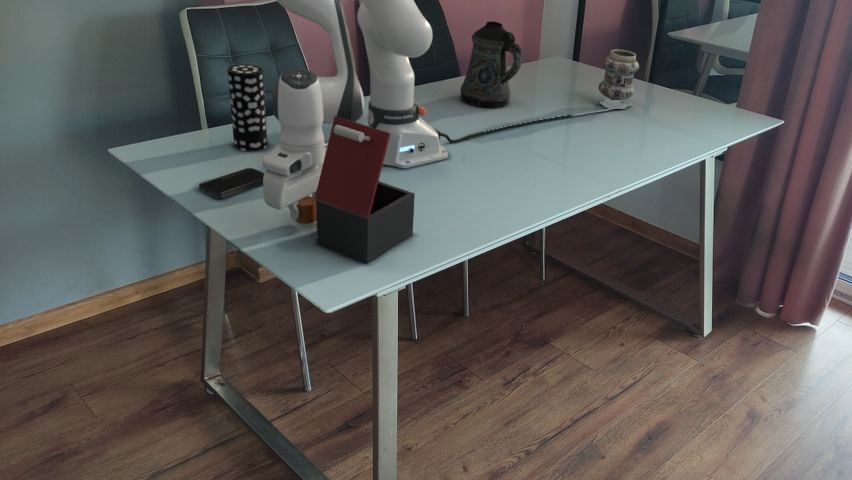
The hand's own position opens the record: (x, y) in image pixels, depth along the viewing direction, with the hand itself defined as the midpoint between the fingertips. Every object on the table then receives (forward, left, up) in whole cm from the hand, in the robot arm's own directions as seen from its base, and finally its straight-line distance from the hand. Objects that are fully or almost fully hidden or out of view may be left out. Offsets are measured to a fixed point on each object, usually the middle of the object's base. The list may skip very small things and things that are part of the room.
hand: (305, 212), depth 162 cm
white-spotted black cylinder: (-1, -47, -3) cm, 47 cm away
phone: (+9, -24, -3) cm, 26 cm away
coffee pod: (0, 0, -2) cm, 2 cm away
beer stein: (-83, -63, -3) cm, 105 cm away
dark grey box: (-9, +11, -3) cm, 15 cm away
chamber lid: (-6, +13, +15) cm, 21 cm away
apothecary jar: (-124, -48, -3) cm, 133 cm away
